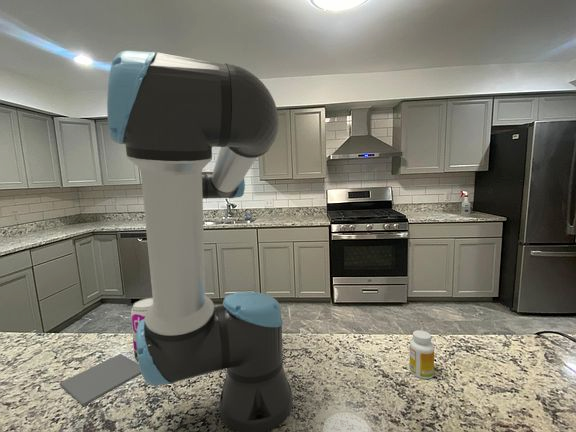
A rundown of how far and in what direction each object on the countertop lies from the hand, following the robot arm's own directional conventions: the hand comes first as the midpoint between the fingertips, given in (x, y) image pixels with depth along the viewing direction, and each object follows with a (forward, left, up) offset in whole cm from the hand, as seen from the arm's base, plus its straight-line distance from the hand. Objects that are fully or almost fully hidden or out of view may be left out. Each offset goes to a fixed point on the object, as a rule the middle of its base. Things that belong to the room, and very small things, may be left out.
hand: (181, 292), depth 87 cm
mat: (0, +23, -14) cm, 27 cm away
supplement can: (0, +11, -14) cm, 18 cm away
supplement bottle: (-66, -19, -14) cm, 70 cm away
